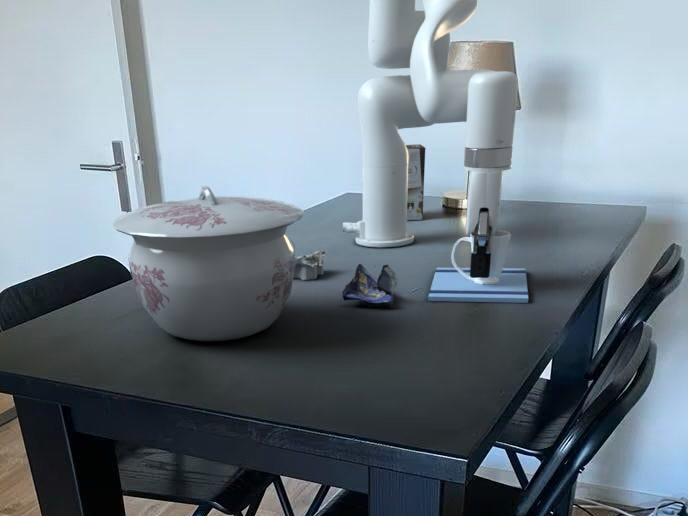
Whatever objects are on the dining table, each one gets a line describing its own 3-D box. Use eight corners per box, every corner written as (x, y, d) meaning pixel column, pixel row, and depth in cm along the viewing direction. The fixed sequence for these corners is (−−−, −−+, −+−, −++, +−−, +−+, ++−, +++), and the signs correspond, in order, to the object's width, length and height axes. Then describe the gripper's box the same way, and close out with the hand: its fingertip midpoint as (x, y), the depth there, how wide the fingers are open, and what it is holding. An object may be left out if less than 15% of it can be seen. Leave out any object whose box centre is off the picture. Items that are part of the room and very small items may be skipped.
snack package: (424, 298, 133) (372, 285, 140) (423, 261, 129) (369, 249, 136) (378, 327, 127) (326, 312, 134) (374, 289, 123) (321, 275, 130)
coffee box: (423, 220, 192) (426, 147, 184) (397, 221, 193) (398, 148, 184) (419, 213, 200) (421, 143, 192) (393, 214, 200) (395, 144, 192)
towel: (428, 301, 131) (428, 295, 131) (436, 271, 148) (436, 266, 148) (527, 303, 128) (528, 297, 127) (524, 272, 145) (525, 267, 144)
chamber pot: (239, 370, 106) (225, 206, 96) (91, 342, 119) (65, 195, 109) (342, 314, 126) (340, 175, 116) (206, 296, 139) (193, 168, 129)
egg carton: (328, 272, 151) (328, 250, 149) (310, 282, 145) (310, 259, 143) (279, 268, 155) (278, 246, 153) (260, 277, 149) (259, 255, 147)
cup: (500, 288, 133) (505, 238, 129) (443, 282, 137) (446, 234, 133) (511, 279, 138) (516, 230, 134) (456, 274, 143) (460, 227, 139)
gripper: (466, 153, 136) (460, 260, 145) (462, 166, 121) (455, 284, 130) (511, 152, 134) (502, 261, 143) (512, 165, 120) (502, 285, 129)
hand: (480, 271), depth 137 cm, fingers open, 6 cm apart
